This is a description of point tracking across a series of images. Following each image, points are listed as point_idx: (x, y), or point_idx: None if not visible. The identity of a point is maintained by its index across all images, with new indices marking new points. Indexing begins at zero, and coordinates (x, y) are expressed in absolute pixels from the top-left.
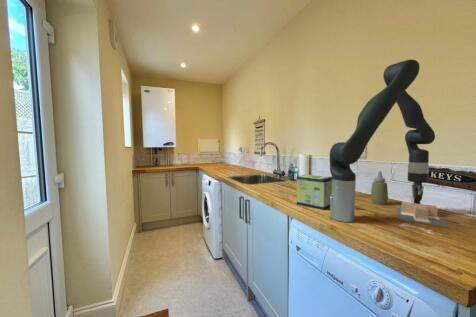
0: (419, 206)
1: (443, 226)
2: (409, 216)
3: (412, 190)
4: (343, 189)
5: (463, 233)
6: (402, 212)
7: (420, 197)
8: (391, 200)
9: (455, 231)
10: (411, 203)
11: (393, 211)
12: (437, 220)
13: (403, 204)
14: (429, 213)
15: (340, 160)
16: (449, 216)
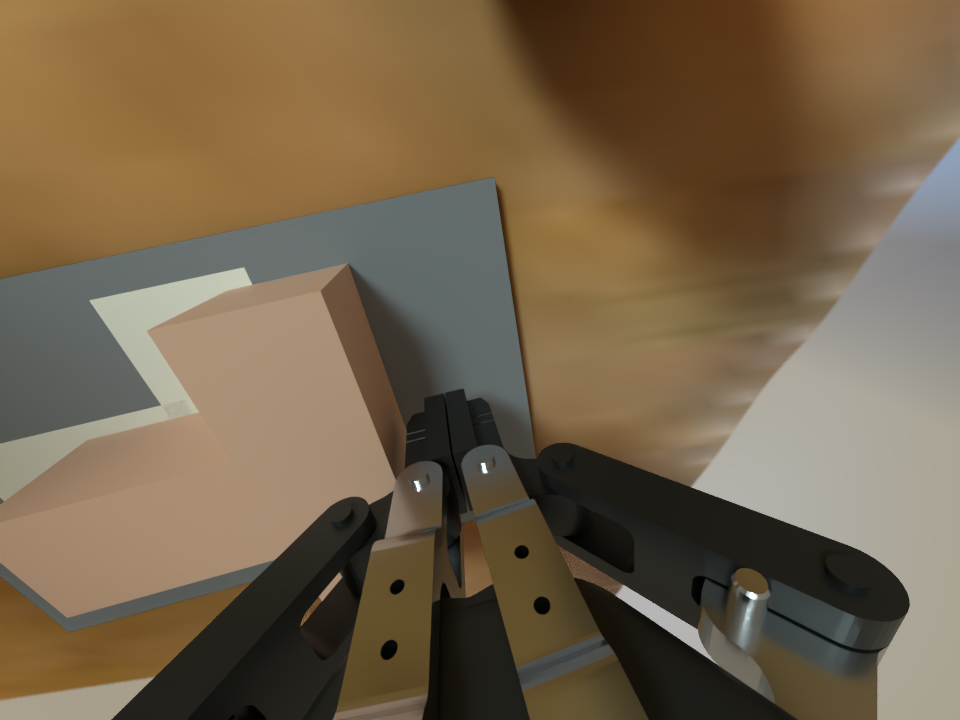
0: (211, 521)
1: (46, 609)
2: (84, 386)
3: (504, 598)
4: None
5: (56, 669)
6: (214, 293)
7: (324, 616)
8: (937, 39)
9: (50, 644)
10: (328, 421)
11: (227, 173)
12: None
13: (161, 338)
14: None
15: None
16: None
